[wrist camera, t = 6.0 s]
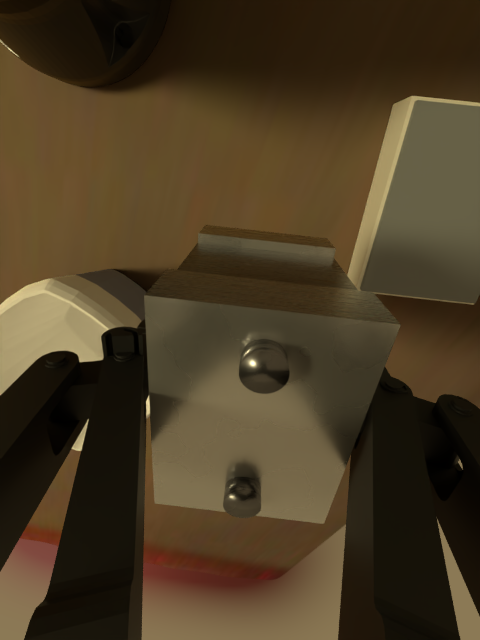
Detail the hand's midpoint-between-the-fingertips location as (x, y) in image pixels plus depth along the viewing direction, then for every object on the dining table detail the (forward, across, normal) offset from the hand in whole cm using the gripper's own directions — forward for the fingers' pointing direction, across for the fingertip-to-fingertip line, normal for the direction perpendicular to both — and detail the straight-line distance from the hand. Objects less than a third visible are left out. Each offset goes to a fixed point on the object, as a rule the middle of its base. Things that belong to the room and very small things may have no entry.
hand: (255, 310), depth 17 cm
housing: (0, 0, 0) cm, 0 cm away
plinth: (+16, +15, +5) cm, 22 cm away
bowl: (+16, -15, -11) cm, 25 cm away
